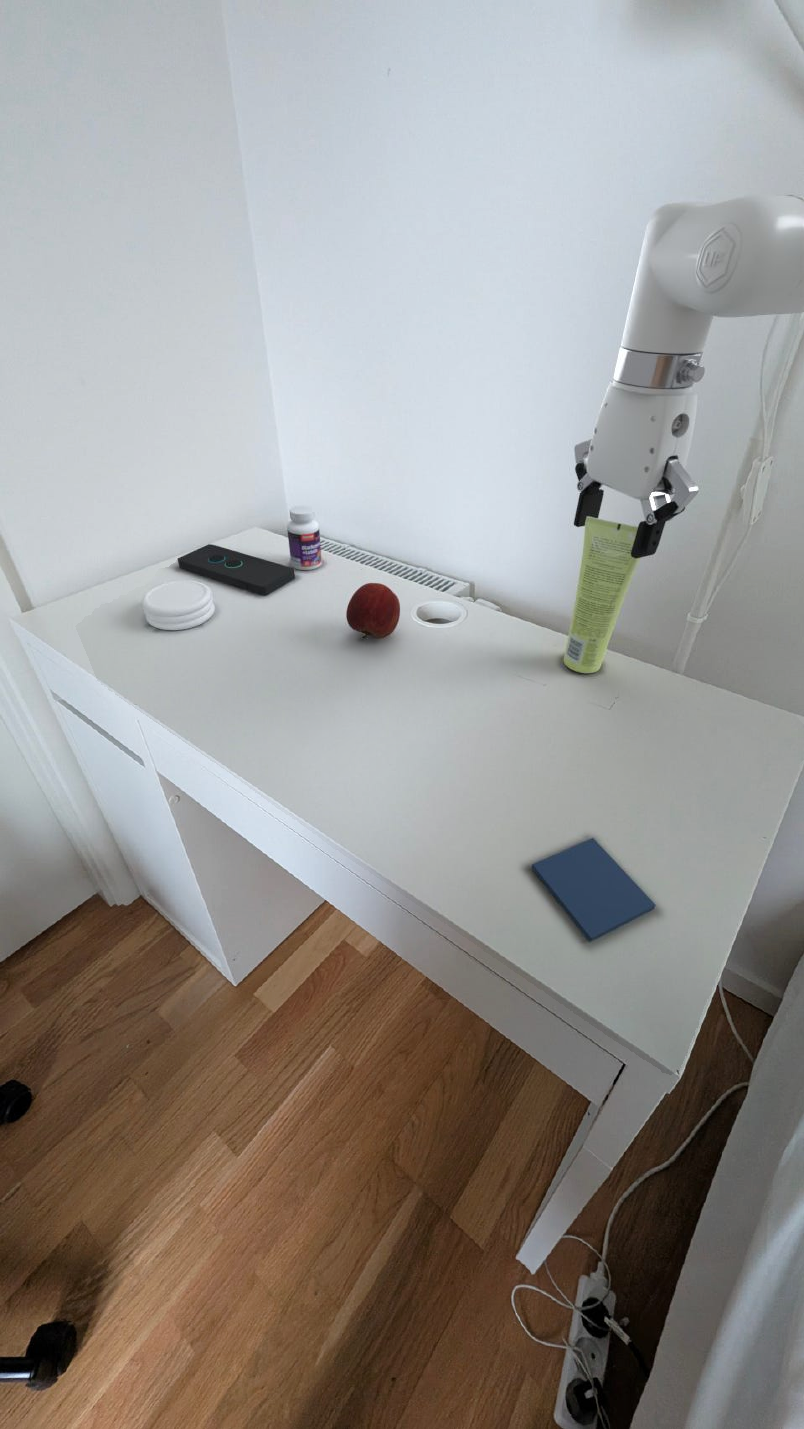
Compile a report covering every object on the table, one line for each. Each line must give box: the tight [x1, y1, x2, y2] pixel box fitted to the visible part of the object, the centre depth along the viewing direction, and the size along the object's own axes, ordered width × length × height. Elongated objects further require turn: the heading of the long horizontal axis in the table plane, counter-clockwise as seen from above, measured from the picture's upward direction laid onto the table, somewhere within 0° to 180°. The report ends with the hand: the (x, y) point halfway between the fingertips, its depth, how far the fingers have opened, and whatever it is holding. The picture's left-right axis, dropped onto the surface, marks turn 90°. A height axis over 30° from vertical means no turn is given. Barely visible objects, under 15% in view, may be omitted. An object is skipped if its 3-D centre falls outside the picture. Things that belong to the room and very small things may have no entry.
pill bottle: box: [286, 505, 323, 571], centre depth 99 cm, size 5×5×10 cm
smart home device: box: [177, 543, 296, 596], centre depth 99 cm, size 8×2×20 cm
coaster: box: [141, 579, 216, 631], centre depth 87 cm, size 10×10×4 cm
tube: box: [563, 516, 641, 674], centre depth 72 cm, size 6×5×20 cm
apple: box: [345, 582, 401, 639], centre depth 81 cm, size 7×8×8 cm
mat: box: [531, 837, 656, 943], centre depth 51 cm, size 8×7×1 cm
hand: (612, 539), depth 67 cm, fingers open, 9 cm apart
